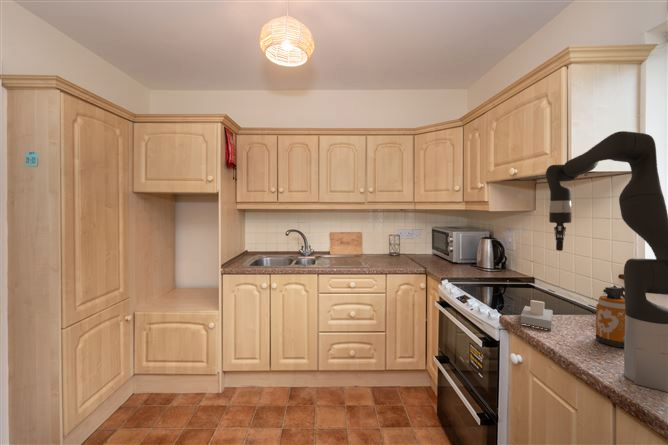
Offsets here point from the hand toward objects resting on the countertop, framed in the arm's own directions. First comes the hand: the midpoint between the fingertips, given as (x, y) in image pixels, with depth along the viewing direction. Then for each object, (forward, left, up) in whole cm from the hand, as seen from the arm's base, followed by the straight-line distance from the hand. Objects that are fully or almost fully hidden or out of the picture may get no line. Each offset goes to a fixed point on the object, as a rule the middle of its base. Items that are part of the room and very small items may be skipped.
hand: (559, 249), depth 126 cm
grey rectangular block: (-10, +7, -30) cm, 32 cm away
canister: (-17, -16, -30) cm, 38 cm away
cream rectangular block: (-10, +7, -29) cm, 32 cm away
